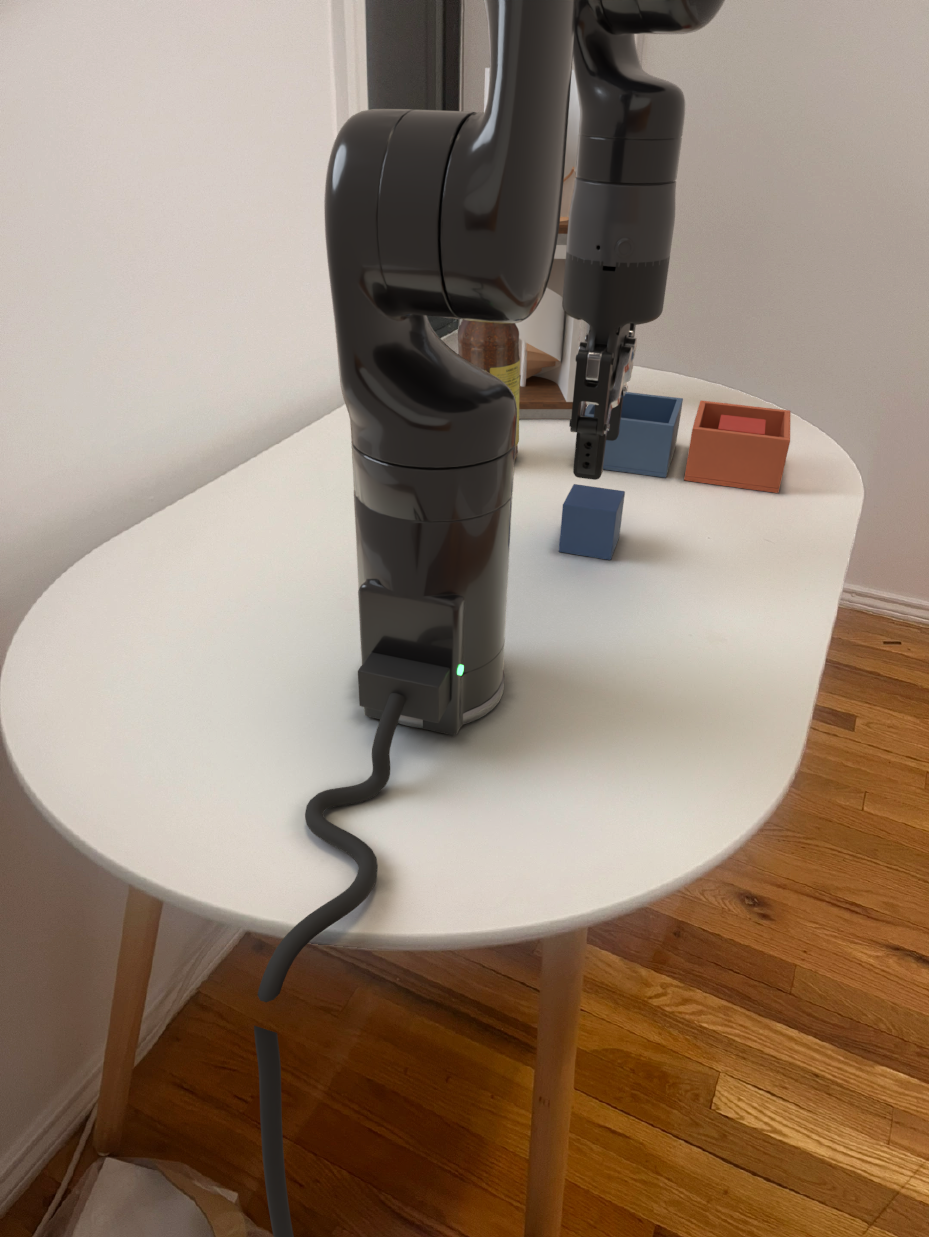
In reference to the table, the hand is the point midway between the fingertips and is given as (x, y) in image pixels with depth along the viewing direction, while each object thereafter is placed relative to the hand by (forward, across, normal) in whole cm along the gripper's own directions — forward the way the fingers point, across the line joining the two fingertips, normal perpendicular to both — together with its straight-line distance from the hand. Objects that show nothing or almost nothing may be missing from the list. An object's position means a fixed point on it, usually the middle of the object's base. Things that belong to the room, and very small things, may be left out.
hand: (596, 457), depth 73 cm
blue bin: (+8, -22, 0) cm, 23 cm away
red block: (+8, -21, +12) cm, 26 cm away
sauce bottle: (+8, -16, -14) cm, 22 cm away
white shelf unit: (+9, -35, -14) cm, 39 cm away
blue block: (+8, 0, 0) cm, 8 cm away
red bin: (+8, -21, +12) cm, 26 cm away
